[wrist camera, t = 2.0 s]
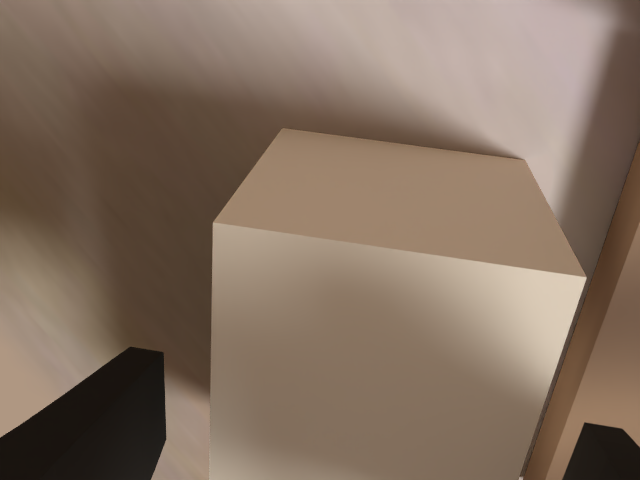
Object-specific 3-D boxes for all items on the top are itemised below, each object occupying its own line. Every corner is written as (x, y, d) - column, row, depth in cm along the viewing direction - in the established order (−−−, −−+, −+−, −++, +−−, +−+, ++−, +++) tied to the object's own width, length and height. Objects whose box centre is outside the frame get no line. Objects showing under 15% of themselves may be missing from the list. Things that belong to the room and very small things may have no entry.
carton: (449, 446, 16) (463, 641, 11) (261, 414, 16) (205, 589, 12) (524, 157, 12) (586, 277, 8) (281, 125, 13) (209, 222, 8)
